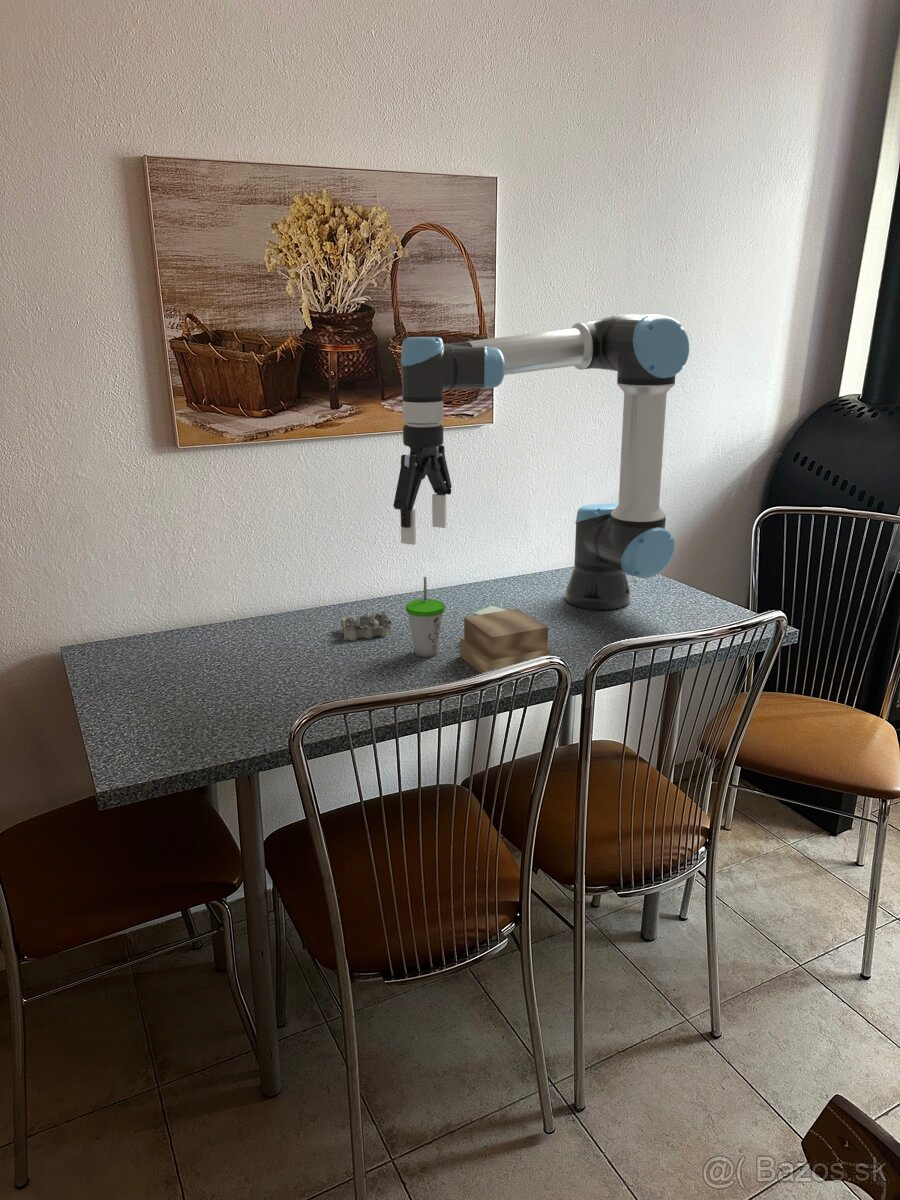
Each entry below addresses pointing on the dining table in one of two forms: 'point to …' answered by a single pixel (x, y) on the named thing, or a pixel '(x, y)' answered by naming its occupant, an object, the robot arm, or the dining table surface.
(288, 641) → the dining table surface
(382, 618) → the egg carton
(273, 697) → the dining table surface
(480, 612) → the block
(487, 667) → the block
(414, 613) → the cup
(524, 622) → the tower top
